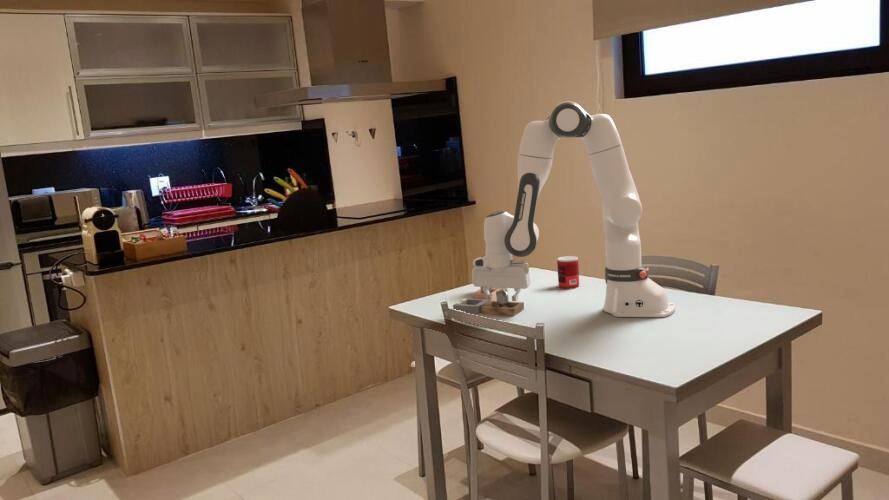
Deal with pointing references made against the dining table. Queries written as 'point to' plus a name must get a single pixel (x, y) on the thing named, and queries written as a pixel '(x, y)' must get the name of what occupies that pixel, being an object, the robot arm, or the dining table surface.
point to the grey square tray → (470, 305)
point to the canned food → (568, 272)
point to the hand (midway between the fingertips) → (502, 300)
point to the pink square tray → (483, 296)
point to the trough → (503, 308)
